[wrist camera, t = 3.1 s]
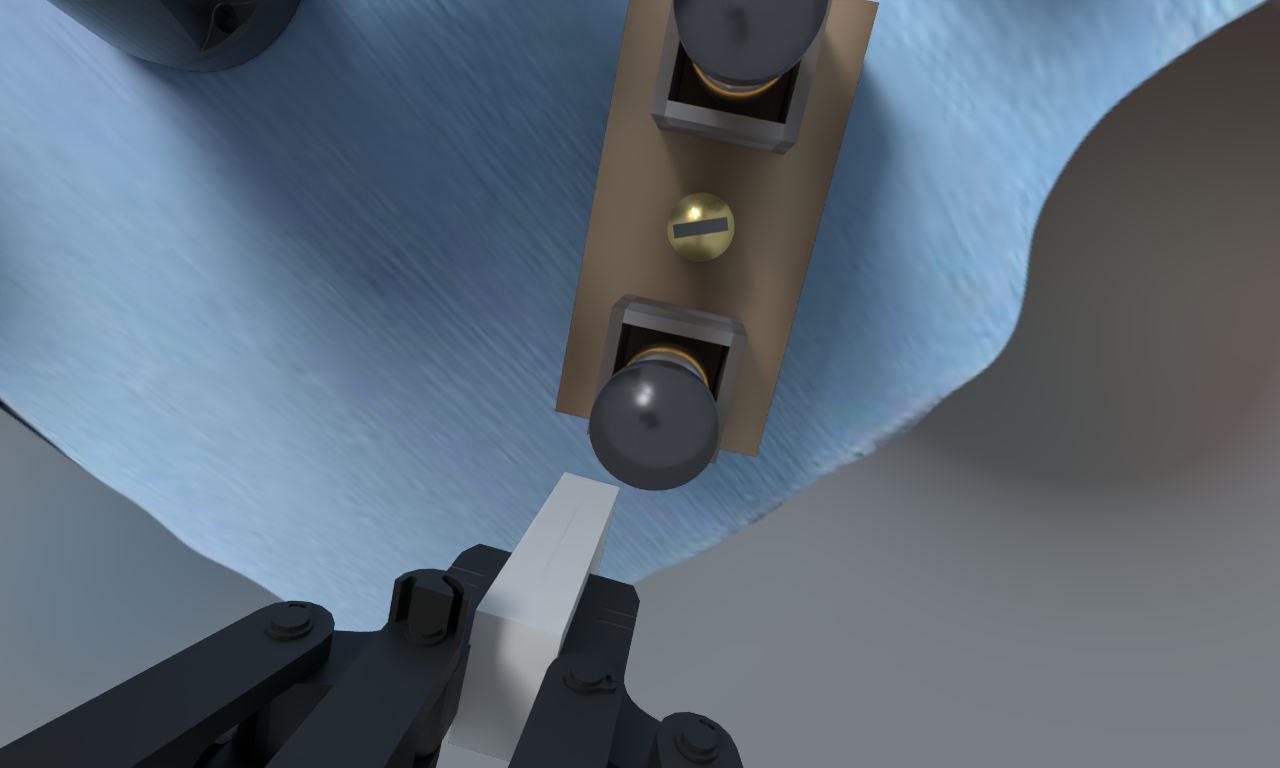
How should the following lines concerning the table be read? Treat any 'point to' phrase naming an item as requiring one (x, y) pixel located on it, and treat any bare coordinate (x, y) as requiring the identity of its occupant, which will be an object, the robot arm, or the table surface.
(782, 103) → the mount
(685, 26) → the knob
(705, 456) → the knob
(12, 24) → the table surface
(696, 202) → the screw
